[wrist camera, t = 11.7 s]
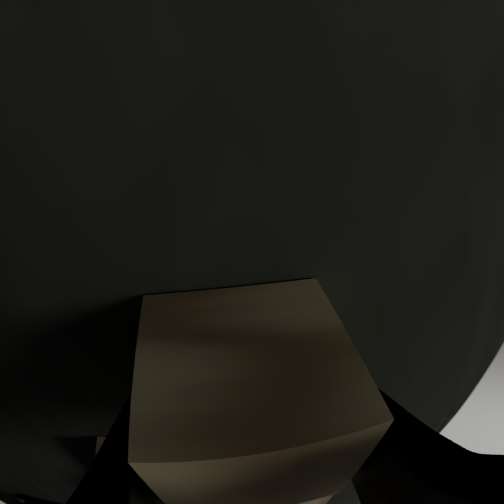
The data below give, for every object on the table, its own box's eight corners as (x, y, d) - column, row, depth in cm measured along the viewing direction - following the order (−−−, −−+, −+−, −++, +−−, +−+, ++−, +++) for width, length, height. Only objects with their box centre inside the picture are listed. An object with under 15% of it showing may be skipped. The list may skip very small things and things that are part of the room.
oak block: (172, 397, 11) (180, 518, 7) (143, 295, 9) (127, 462, 4) (299, 381, 12) (339, 492, 8) (315, 278, 9) (394, 419, 5)
